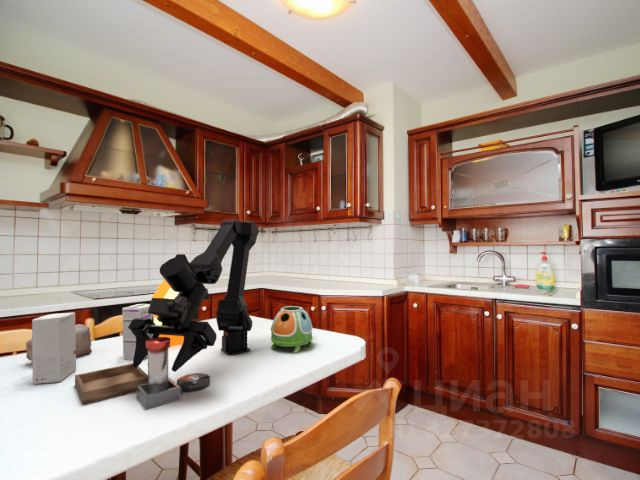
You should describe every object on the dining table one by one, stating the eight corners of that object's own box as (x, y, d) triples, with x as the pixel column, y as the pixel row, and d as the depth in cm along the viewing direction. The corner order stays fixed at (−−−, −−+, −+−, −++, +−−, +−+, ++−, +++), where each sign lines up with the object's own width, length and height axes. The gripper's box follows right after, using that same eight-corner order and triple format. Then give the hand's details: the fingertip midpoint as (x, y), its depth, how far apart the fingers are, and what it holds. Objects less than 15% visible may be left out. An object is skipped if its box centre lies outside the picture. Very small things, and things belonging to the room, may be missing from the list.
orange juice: (175, 338, 119) (175, 278, 119) (186, 343, 112) (186, 280, 113) (151, 342, 113) (151, 280, 113) (161, 348, 107) (161, 282, 107)
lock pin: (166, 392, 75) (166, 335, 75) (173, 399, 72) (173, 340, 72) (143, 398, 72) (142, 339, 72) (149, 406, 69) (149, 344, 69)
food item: (41, 369, 90) (41, 330, 90) (23, 365, 93) (23, 327, 93) (94, 354, 102) (94, 319, 102) (76, 350, 105) (76, 317, 106)
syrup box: (140, 361, 95) (140, 307, 96) (122, 359, 97) (122, 306, 97) (154, 354, 101) (154, 303, 101) (136, 353, 102) (136, 303, 102)
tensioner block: (202, 376, 84) (202, 366, 84) (218, 388, 77) (218, 376, 77) (133, 394, 74) (133, 382, 74) (145, 409, 67) (145, 396, 67)
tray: (135, 373, 87) (135, 362, 87) (149, 388, 77) (149, 376, 77) (74, 386, 79) (75, 375, 79) (82, 405, 69) (82, 392, 69)
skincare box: (60, 382, 81) (60, 317, 81) (30, 385, 79) (30, 319, 80) (77, 370, 89) (77, 311, 89) (49, 372, 88) (49, 312, 88)
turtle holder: (323, 339, 116) (323, 303, 116) (301, 355, 99) (301, 313, 99) (289, 336, 120) (289, 301, 121) (262, 351, 104) (262, 310, 104)
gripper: (134, 281, 78) (90, 345, 68) (209, 283, 74) (175, 352, 63) (158, 310, 86) (123, 372, 75) (228, 313, 81) (200, 379, 70)
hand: (153, 368), depth 71 cm, fingers open, 9 cm apart
